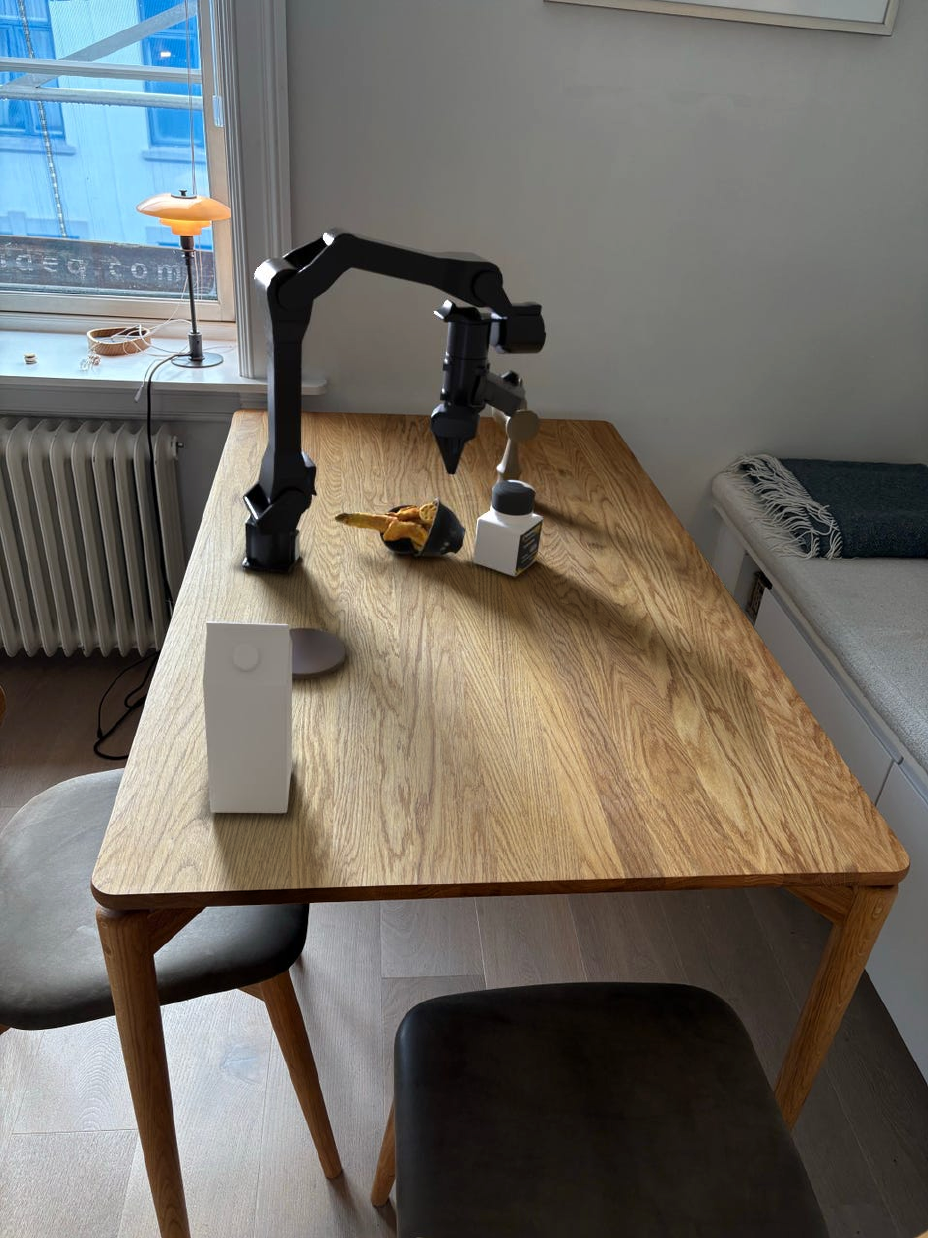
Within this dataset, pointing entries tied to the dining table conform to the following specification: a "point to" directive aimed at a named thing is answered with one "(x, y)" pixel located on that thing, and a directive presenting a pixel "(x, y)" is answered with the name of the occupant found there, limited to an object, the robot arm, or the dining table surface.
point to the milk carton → (248, 716)
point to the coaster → (315, 653)
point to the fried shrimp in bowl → (413, 528)
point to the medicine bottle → (509, 529)
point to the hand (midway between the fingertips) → (455, 462)
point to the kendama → (515, 438)
